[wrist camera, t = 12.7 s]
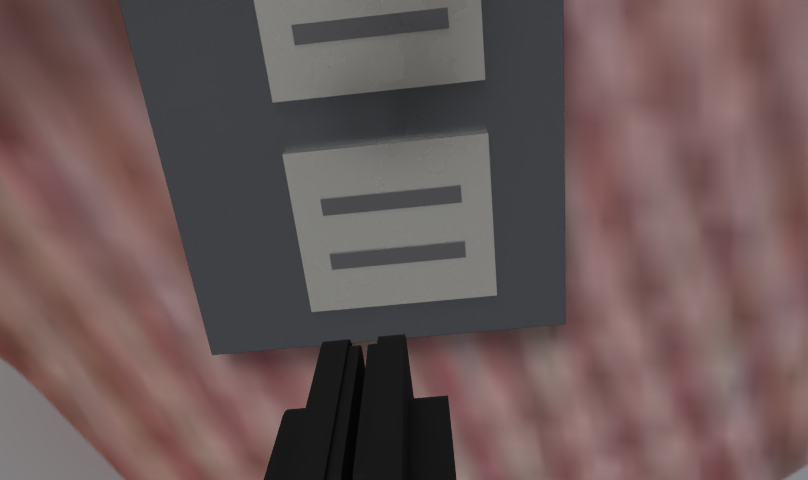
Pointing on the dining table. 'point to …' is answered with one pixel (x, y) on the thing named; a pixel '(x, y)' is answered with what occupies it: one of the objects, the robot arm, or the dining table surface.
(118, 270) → the dining table surface
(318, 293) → the label base
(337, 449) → the robot arm
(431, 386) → the dining table surface
